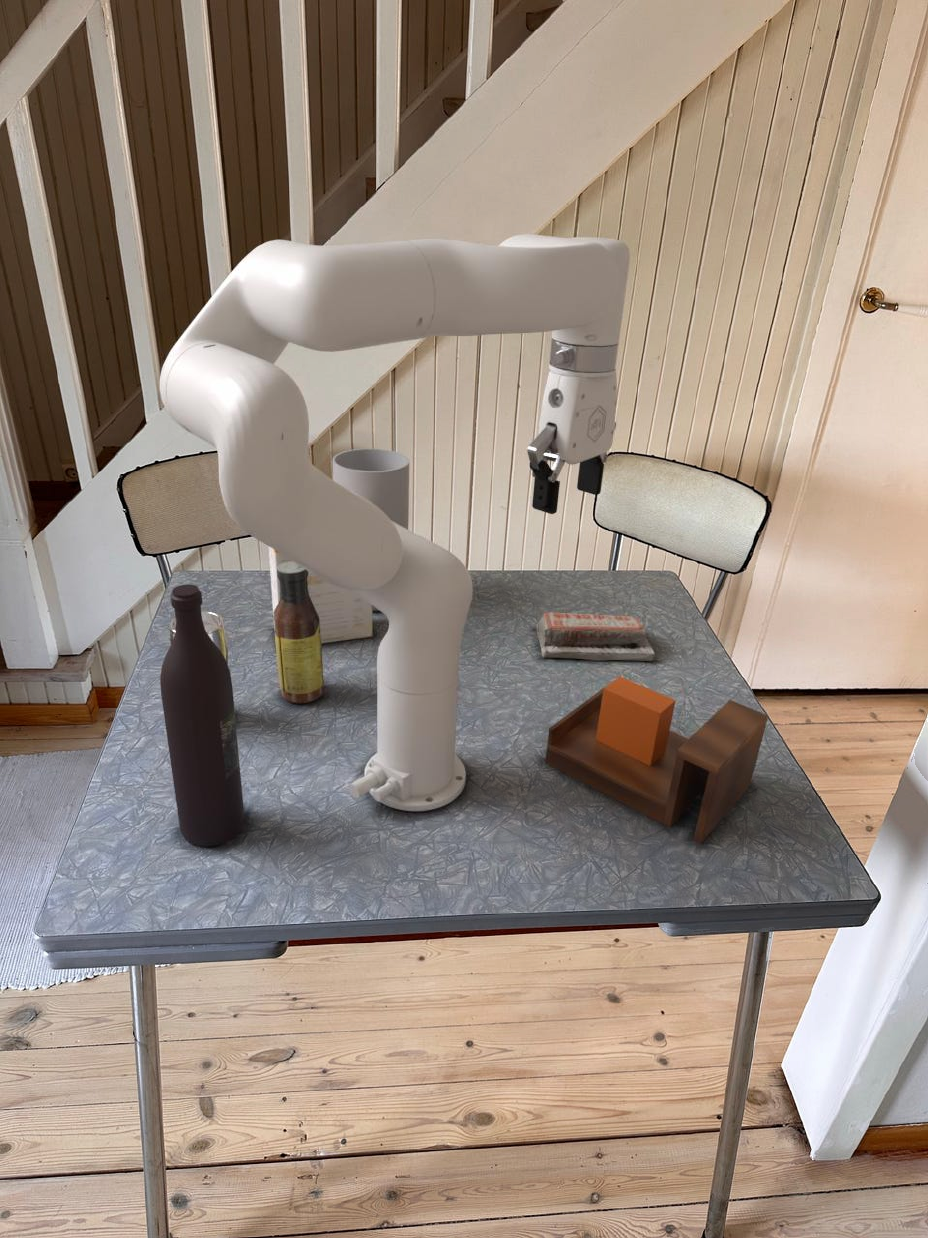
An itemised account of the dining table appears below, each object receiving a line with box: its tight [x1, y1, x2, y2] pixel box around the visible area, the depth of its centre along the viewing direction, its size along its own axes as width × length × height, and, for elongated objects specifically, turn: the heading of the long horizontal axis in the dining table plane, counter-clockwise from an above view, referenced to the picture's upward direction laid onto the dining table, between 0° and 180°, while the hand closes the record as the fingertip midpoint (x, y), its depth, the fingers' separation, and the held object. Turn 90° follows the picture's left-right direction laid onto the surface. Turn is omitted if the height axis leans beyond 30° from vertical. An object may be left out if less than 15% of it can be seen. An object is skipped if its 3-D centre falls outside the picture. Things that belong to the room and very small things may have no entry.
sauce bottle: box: [273, 562, 325, 704], centre depth 116 cm, size 6×6×20 cm
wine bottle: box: [159, 584, 245, 847], centre depth 89 cm, size 7×7×30 cm
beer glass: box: [169, 610, 229, 666], centre depth 110 cm, size 7×7×15 cm
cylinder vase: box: [332, 448, 410, 612], centre depth 143 cm, size 12×12×25 cm
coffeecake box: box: [268, 546, 373, 644], centre depth 132 cm, size 15×7×20 cm, turn 111°
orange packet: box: [596, 676, 676, 766], centre depth 106 cm, size 4×8×8 cm, turn 50°
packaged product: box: [535, 611, 656, 662], centre depth 136 cm, size 18×5×10 cm
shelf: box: [544, 685, 769, 844], centre depth 105 cm, size 14×22×11 cm, turn 50°
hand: (567, 501), depth 103 cm, fingers open, 9 cm apart
